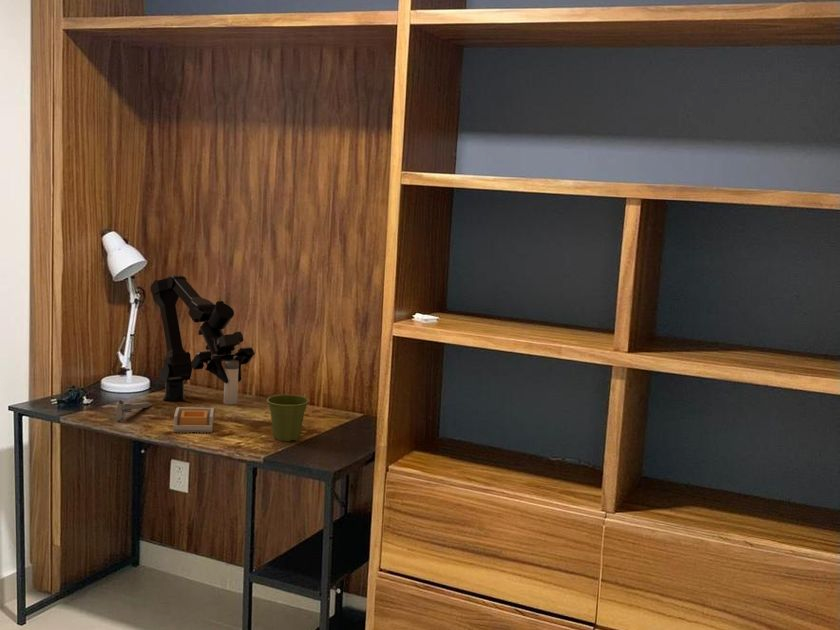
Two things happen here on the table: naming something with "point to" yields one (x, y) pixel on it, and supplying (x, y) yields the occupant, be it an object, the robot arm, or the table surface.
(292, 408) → the plant pot
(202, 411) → the socket box
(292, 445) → the table surface
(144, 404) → the caliper
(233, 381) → the plug
